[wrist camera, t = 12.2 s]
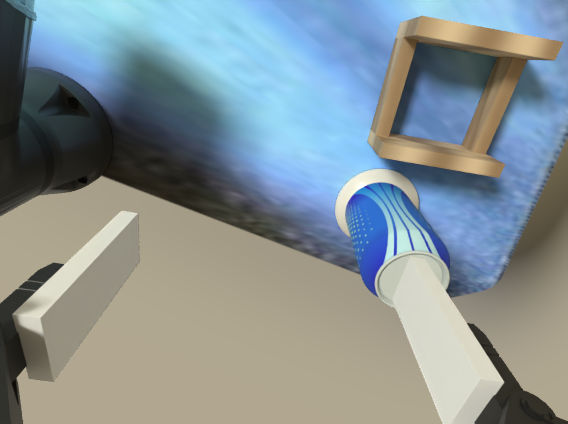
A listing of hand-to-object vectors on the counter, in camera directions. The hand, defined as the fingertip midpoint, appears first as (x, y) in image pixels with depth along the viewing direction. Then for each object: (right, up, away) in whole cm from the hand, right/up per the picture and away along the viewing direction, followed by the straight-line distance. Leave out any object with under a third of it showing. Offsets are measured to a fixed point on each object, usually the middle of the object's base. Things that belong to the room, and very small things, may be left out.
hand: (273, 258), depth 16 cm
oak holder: (+18, +16, +22) cm, 33 cm away
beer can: (+13, +3, +28) cm, 31 cm away
